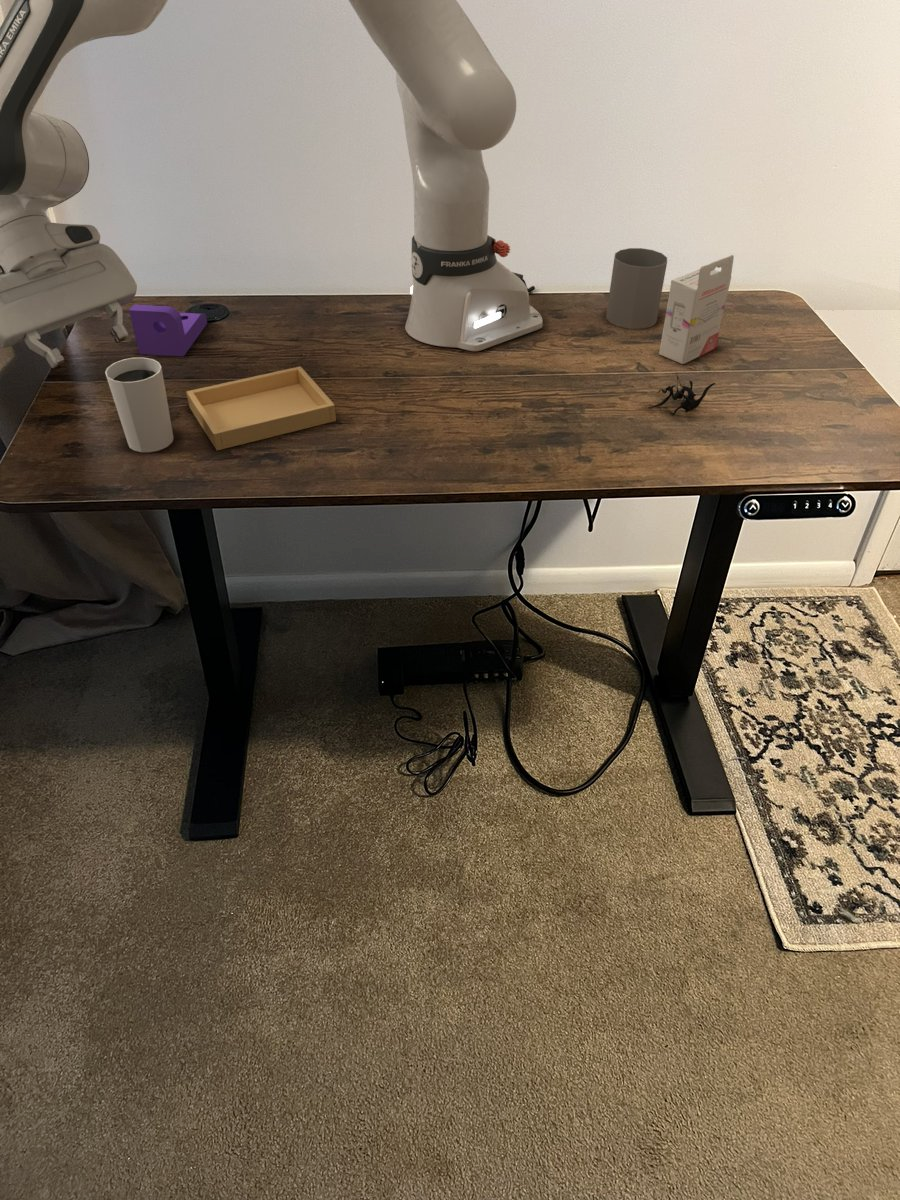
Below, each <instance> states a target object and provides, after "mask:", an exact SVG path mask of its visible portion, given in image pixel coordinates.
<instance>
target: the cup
mask: <svg viewBox="0 0 900 1200" xmlns="http://www.w3.org/2000/svg"><path fill="white" fill-rule="evenodd" d="M612 265H613V266H612V271H611V279H610V284H609V285H610V286H609V294H608V299H607V309H606V314H605V319H606V320H607V321H608V322H609V323H610V324H612V325H614V326H616V327H618V328H623V329H629V330H644V329H647V328H652V327H653V326H654V325H655V324H657V321H658V316H659V315H658V314H659V310H660V305H661V300H662V299H661V298H662V293H663V288H664V282H665V276H666V271H667V266H668V257H667V256H666V255H665V254H664V253H662V252H659V251H656V250H654V249H648V248H642V247H634V248H633V247H629V248H624V249H619V250H618V251H616V252H615V253H614V258H613V264H612Z"/></svg>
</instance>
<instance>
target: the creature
mask: <svg viewBox="0 0 900 1200" xmlns="http://www.w3.org/2000/svg"><path fill="white" fill-rule="evenodd" d="M675 374H676V380H677V381H676V383H677V386H676V385H671V386H670V385H668V386H666V387H665V388H660V389H659V390H658V391H657V394H659V393H660V392H661V393H663V394H667V392H669V394H668V395H667V396H666V397H665V398H664V399H663V400H662V401H661V402H659V403H658V404H655V405H653V406H648V409H650V408H658V407H662V408H664V409H668V407H667V406H663V405H665V404H666V403H667V402H668V401H669V399H672V400H673V401H677V400H682V401H681V402H680V403H679V407H677V408H675V409H674V411H671V410H668V412H669V413H670V414H671V415H672V416H675V415H676V414H677V412H678V410H679V409H683V411H685V413H686V414H688V413H689V412H692V411H694V410H695V409H697V408H698V407H700V404H701V403H702V401H703V400H704V399H705V396H706V395H707V393H708V391H709V390H710V389H711V388H712V387H713V386H715V385H717V383H716V382H712V383H710V384H709V385H708V386H707V387H705V389H704V390H703V391H702V394H701V396H700V397H699V398H698V399H695V397H697V394H696V393H694V391H693V386H694V383H693V381H692V380H689V385H690V387H689V386H686V385H682V384H681V381H680V379H679V375H678V373H677V372H675ZM679 386H680V387H681V389H680V390H679ZM674 388H675V389H676V391H675V392H674ZM685 392H687V396H686V394H685Z"/></svg>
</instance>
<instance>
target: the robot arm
mask: <svg viewBox="0 0 900 1200" xmlns="http://www.w3.org/2000/svg"><path fill="white" fill-rule="evenodd" d="M168 1H169V0H14V1H13V4H12V5H11V6H10V8H9V10H8V12H7V14H6V16H5V18H4V20H3V21H2V24H1V25H0V348H1V349H6V348H9V347H12V346H14V345H17V344H20V343H23V342H24V343H25V344H26V346H27V348H28V349H29V350H31V351H32V352H34V353H36V354H37V355H40V357H43V358H44V359H46V361H47V363H48V364H49V366H50V367H51V368H52V369H55V368H57V367H60V366H62V365H64V363H65V358H64V356H63V355H62V354H61V351H60V350H59V348H58V347H56V348H53V349H52V348H50V347H48V346H47V345H45V344H44V343H42V342H41V338H42V337H41V336H42V335H45V334H47V333H48V334H49V333H50V332H53V331H55V330H59V329H61V328H65V327H67V326H69V325H73V324H75V323H78V322H80V321H83V320H86V319H89V318H92V317H95V316H97V315H101V314H103V313H106V314H107V316H108V318H110V319H112V318H113V325H114V326H112V327H111V330H110V331H109V334H110V336H111V337H112V338H114V339H113V340H114V342H115V343H116V344H118V343H121V342H124V341H126V340H128V338H129V336H130V335H129V332H128V330H127V329H126V327H125V326H124V320H123V319H124V318H123V316H124V315H123V307H122V306H125V305H127V304H130V303H132V301H133V300H134V298H135V296H136V295H137V289H138V285H137V282H136V280H135V278H134V277H133V275H132V273H131V272H130V270H129V269H128V268H127V266H126V264H125V263H124V262H123V260H122V259H121V258H120V256H119V255H118V254H117V253H116V251H115V250H113V248H111V247H110V246H109V245H106V244H104V243H100V241H101V234H100V232H99V230H98V228H97V227H95V225H92V224H77V223H75V224H74V223H71V224H70V223H59V222H52V221H51V220H50V218H49V216H48V214H47V210H48V209H50V208H53V207H56V206H58V205H61V204H63V203H64V202H66V201H68V200H70V199H71V198H73V197H75V196H76V195H77V194H78V193H80V192H81V191H82V189H84V187H85V185H86V183H87V181H88V178H89V173H90V158H89V153H88V148H87V147H86V146H87V145H86V143H85V141H84V140H83V138H82V136H81V134H80V133H79V132H78V130H77V129H76V127H74V126H73V125H72V124H71V123H69V122H67V121H66V120H63V119H60V118H58V117H56V116H52V115H48V114H46V113H42V112H38V111H34V108H35V107H36V105H37V104H38V102H39V99H40V98H41V96H42V95H43V93H44V91H45V90H46V89H45V88H46V87H47V85H48V84H49V82H50V80H51V78H52V76H53V75H54V73H55V72H56V69H57V68H58V66H59V65H60V63H61V61H62V60H63V59H64V57H66V55H67V54H68V53H69V52H71V51H72V50H73V49H75V48H77V47H79V46H80V45H82V44H86V43H88V42H91V41H94V40H99V39H104V38H110V37H111V38H113V37H124V36H125V37H126V36H132V35H136V34H138V33H141V32H143V31H145V30H147V29H149V28H150V27H151V26H152V24H153V23H154V22H155V21H156V20H157V18H158V17H159V16H160V14H161V13H162V12H163V10H164V8H165V7H166V5H167V3H168ZM348 3H350V5H351V7H352V9H353V11H354V12H355V14H356V15H357V17H358V19H359V20H360V22H361V24H362V25H363V27H364V28H365V30H366V31H367V33H368V35H369V37H370V38H371V40H372V41H373V43H374V44H375V45H376V47H378V49H379V50H380V51H381V53H382V54H383V55H384V57H385V58H386V60H387V61H388V62H389V64H390V65H391V66H392V68H393V69H394V71H395V84H396V89H397V93H398V96H399V99H400V103H401V109H402V115H403V123H404V130H405V138H406V144H407V151H408V157H409V162H410V168H411V174H412V186H413V222H414V223H413V230H414V231H413V235H412V237H411V255H410V256H411V258H410V262H411V273H412V274H411V275H412V279H413V280H412V281H413V282H412V286H410V288H409V289H410V295H411V298H410V303H409V304H410V305H409V310H408V314H407V318H406V321H405V324H404V329H405V332H406V333H407V335H408V336H410V337H411V338H412V339H414V340H416V341H418V342H421V343H424V344H427V345H431V346H434V347H435V346H437V347H442V348H443V347H444V348H457V349H461V350H465V351H468V352H480V351H483V350H486V349H488V348H491V347H494V346H497V345H499V344H502V343H505V342H507V341H510V340H514V339H516V338H519V337H522V336H524V335H527V334H529V333H532V332H536V331H538V330H541V329H542V328H543V326H544V323H543V322H544V321H543V317H542V315H541V314H540V312H539V311H538V310H537V309H536V308H534V306H532V305H531V303H530V295H529V294H530V293H532V292H533V291H534V290H536V286H535V285H532V286H530V287H529V288H528V286H527V282H526V280H525V279H524V274H522V273H517V272H514V271H511V270H510V269H509V268H508V267H506V266H505V265H504V264H502V263H501V262H500V261H499V260H498V259H497V255H498V256H499V257H501V258H506V257H507V256H509V254H510V253H511V246H510V245H509V243H507V242H504V241H503V240H501V239H499V240H497V241H496V239H495V238H494V237H492V236H490V235H489V234H488V232H489V213H490V212H489V211H490V209H489V208H490V190H491V189H490V180H489V175H488V173H487V171H486V168H485V167H486V166H485V163H484V158H483V152H482V151H486V150H489V149H491V148H494V147H495V146H497V145H498V144H500V143H501V142H502V141H503V140H504V139H505V138H506V137H507V135H508V134H509V132H510V131H511V128H512V127H513V124H514V122H515V118H516V113H517V97H516V92H515V89H514V87H513V84H512V82H511V81H510V79H509V78H508V77H507V75H506V74H505V72H504V71H503V69H502V67H500V66H499V63H498V62H497V61H496V59H495V58H494V56H493V54H492V52H491V50H489V47H488V46H487V45H486V43H485V41H484V39H483V38H482V37H481V35H480V34H479V32H478V30H477V29H476V27H475V26H474V24H473V23H472V21H471V20H470V18H469V17H468V15H467V14H466V12H465V11H464V10H463V8H462V7H461V5H460V4H459V1H458V0H348ZM496 254H497V255H496Z"/></svg>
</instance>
